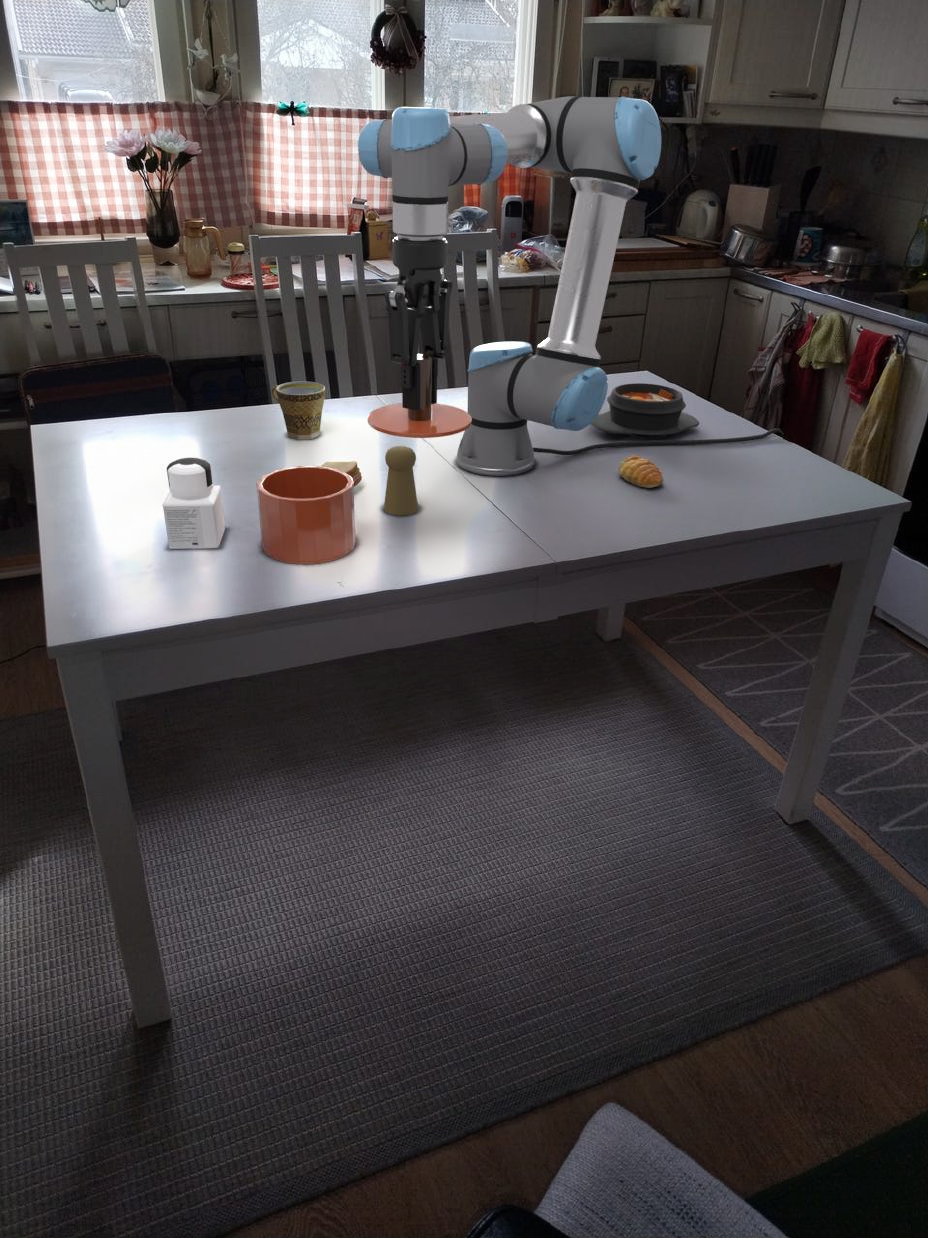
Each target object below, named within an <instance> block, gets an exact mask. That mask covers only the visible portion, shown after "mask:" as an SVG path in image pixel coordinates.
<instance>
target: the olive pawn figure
mask: <svg viewBox="0 0 928 1238" xmlns="http://www.w3.org/2000/svg"><path fill="white" fill-rule="evenodd" d="M384 459H385V464H386V465H387V467H388V470H387V479H386V488H385V495H384V502H383V503H384V504H383V511H384V512H385V513H387V514H389V515H391V516H392V515H393V516H401V517H402V516H410V515H414V514H415V513H417V512H418V511H419V503H418V495H417V488H416V481H415V474H414V468H413V467H414V466H415V465H416V461H417V456H416V453H415V451H414V449H413V448H411V447H409V446H404V445H396V446H392V447H390V448H388V449H387V450H386V453H385V457H384Z"/></svg>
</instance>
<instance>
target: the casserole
mask: <svg viewBox="0 0 928 1238" xmlns="http://www.w3.org/2000/svg"><path fill="white" fill-rule="evenodd" d="M611 390H612V391H611V392H610V395H608V396H607V397H606V402H607V403H608V405H609V411H606V412H603V413H599V414H598V415H597V417H596V418H595V419H594V420H593V421H592V422H591V424H590V425H591V426H592V427H594V428H595V429H597V430H599V431H602V432H604V433H608V434H614V435H629V436H633V437H640V438H657V437H663V436H668V435H674V434H678V433H680V432H682V431H685V430H688V429H692V428H695V427H699V425H700V421H699V420H698V419H697V418H696V417H694V416H693V415H690V414H689V413H686V412H683V411H684V410H685V409H686V407H687V403H686V402H685V401H684V397H683V394H682V392H681V391H679V390H677V389H675V388H672V387H669V386H665V385H660V384H655V383H643V382H642V383H641V382H640V383H639V382H638V383H636V382H635V383H626V384H620V385H617V386H615V387H613V389H611Z"/></svg>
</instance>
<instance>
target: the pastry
mask: <svg viewBox="0 0 928 1238" xmlns="http://www.w3.org/2000/svg"><path fill="white" fill-rule="evenodd" d="M618 472H619V475H620V477H621V478H623V479H624V480H625V481H627V483H631V484H632V485H635V486H637V487H639V488H640V487H641V488H647V489H650V488H651V489H652V488H654V487H660V486H661V485H662V483H664V477H663V474H662V472H661V471H660V468H659V467H657V465H656V464H655V462H651V460H650V459H647V458H642V457H641V456H640V455H639V456H638V455H630V456H629V457H627V458H625V459H624V460H623V461H622V462H621V463H620V465H619V466H618Z"/></svg>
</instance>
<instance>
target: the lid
mask: <svg viewBox="0 0 928 1238" xmlns="http://www.w3.org/2000/svg"><path fill="white" fill-rule="evenodd" d="M409 357H410V356H409ZM416 365H420V410H418V411H415V410H411V409H406V408H402V402H400V403H392V404H388V405H384V406H380V407H377V408H375V409H373V410H372V411H371V412H369V413H368V415H367V424H368V425H369V426H370V428H372V429H373V430H375V431H376V432H379V433H381V434H386V435H390V436H394V437H401V438H408V439H409V438H411V439H432V438H441V437H449V436H453V435H457V434H459V433H462V432H464V431H465V430H466V429H468V428H469V427H470V426H471V423H472V418H471V416H470V415H469V413H468V411H465V410H463V409H462V408H459V407H456V406H453V405H448V404H445V403H444V404H443V403H438V402H437V403H436V404H432V356H430V355H426V354H423V353H417V363H416Z"/></svg>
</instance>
